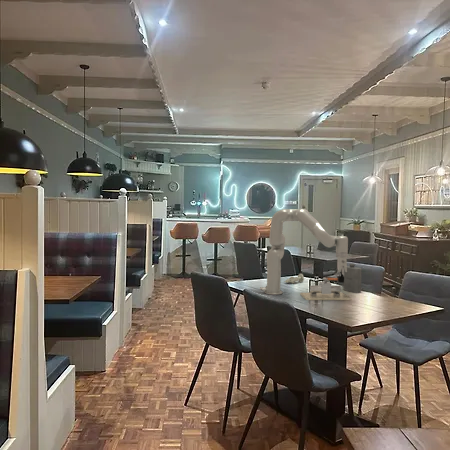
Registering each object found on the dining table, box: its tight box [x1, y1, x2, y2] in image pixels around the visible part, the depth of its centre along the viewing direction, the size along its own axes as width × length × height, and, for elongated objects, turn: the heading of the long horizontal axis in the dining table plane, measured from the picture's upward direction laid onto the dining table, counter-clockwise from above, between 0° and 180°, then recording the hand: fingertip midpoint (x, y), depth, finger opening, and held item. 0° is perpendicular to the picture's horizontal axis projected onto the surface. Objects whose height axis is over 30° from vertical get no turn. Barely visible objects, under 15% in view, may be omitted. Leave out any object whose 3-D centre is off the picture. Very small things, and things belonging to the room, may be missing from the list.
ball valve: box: [299, 280, 352, 301], centre depth 289 cm, size 30×16×12 cm, turn 93°
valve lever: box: [322, 275, 344, 283], centre depth 289 cm, size 14×3×4 cm, turn 86°
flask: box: [342, 263, 363, 294], centre depth 312 cm, size 15×6×20 cm, turn 32°
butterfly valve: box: [283, 257, 305, 284], centre depth 342 cm, size 9×20×17 cm
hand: (341, 282), depth 284 cm, fingers closed
